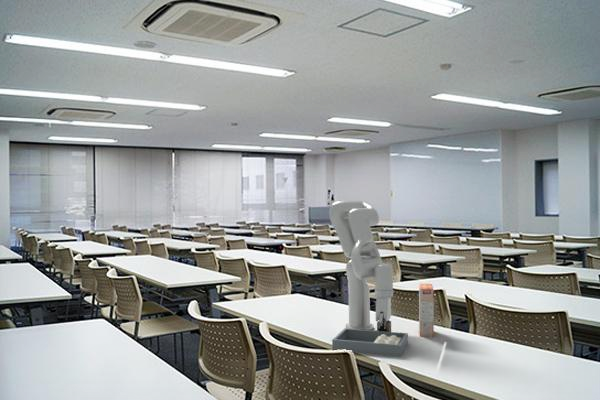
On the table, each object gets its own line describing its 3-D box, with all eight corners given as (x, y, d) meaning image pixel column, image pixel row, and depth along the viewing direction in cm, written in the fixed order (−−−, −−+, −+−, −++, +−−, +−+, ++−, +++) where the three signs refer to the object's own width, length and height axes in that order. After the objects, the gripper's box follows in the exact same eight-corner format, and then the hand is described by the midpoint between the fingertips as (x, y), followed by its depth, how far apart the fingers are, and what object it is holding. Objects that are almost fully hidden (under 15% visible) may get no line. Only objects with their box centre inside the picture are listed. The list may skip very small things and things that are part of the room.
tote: (344, 340, 217) (344, 328, 217) (408, 345, 208) (407, 333, 208) (332, 352, 200) (332, 339, 200) (400, 359, 191) (400, 345, 191)
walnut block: (379, 336, 223) (379, 320, 223) (391, 337, 221) (391, 321, 221) (377, 339, 218) (377, 322, 218) (389, 340, 216) (389, 323, 216)
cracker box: (434, 339, 218) (434, 288, 218) (419, 338, 219) (419, 288, 219) (432, 330, 231) (432, 283, 231) (419, 329, 233) (418, 283, 233)
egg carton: (378, 343, 209) (378, 332, 209) (401, 345, 206) (401, 333, 205) (373, 351, 198) (372, 339, 198) (396, 353, 195) (396, 341, 195)
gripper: (379, 289, 229) (379, 330, 229) (370, 296, 212) (371, 340, 213) (396, 290, 226) (396, 331, 226) (389, 297, 210) (389, 342, 210)
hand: (384, 335), depth 219 cm, fingers open, 6 cm apart
